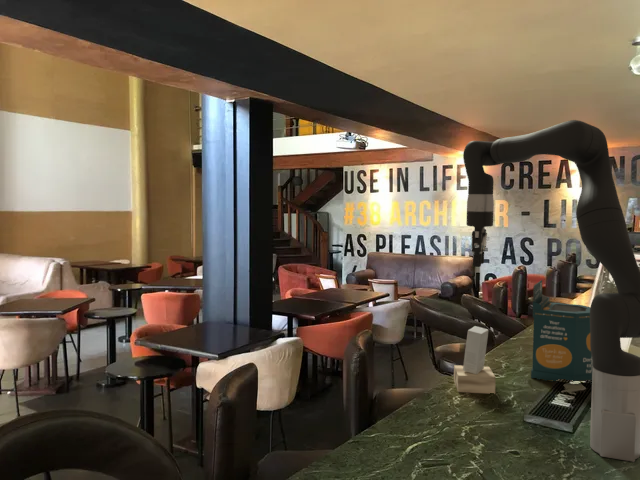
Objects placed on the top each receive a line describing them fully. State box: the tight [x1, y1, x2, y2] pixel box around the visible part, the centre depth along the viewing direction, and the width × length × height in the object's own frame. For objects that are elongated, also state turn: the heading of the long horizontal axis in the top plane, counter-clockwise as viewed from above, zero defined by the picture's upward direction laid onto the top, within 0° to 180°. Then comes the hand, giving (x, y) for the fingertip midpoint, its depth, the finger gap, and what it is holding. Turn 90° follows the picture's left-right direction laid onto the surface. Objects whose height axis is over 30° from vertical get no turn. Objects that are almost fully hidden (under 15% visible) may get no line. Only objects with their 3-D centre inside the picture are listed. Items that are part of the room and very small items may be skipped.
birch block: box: [453, 364, 496, 395], centre depth 151 cm, size 10×10×5 cm
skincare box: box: [462, 325, 489, 375], centre depth 150 cm, size 6×4×12 cm
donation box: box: [530, 280, 593, 382], centre depth 161 cm, size 16×16×28 cm
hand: (478, 265), depth 156 cm, fingers open, 8 cm apart
